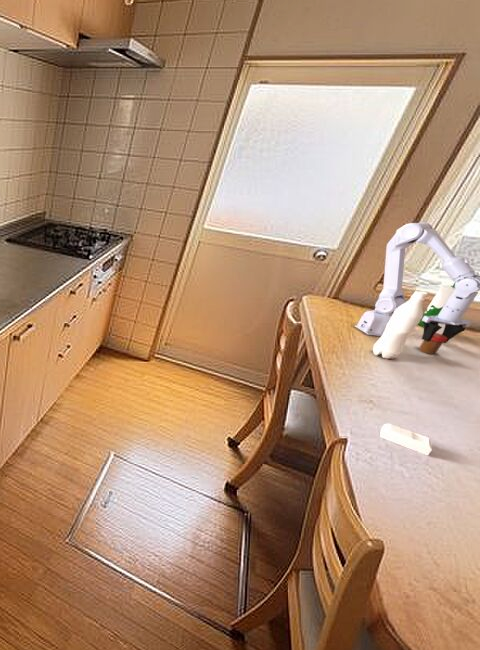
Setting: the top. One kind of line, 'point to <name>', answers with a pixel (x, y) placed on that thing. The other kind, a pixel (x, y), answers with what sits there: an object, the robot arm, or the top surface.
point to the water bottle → (400, 326)
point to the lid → (439, 338)
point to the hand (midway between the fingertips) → (433, 341)
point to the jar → (430, 346)
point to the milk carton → (438, 301)
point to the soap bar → (406, 438)
